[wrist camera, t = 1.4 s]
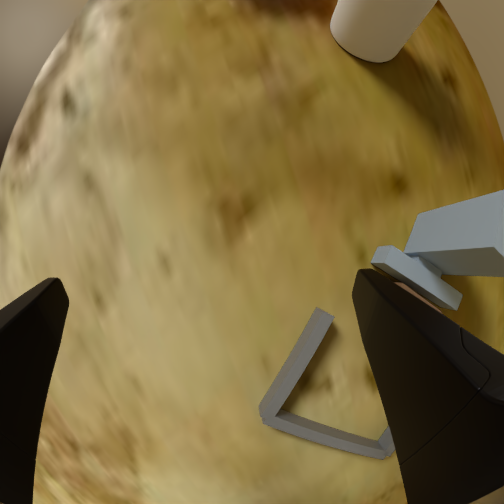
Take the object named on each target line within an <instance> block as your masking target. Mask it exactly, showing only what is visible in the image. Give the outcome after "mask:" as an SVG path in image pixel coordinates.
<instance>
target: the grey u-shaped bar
mask: <svg viewBox="0 0 504 504" xmlns="http://www.w3.org/2000/svg"><path fill="white" fill-rule="evenodd" d="M333 319H334V316H332V315H330V314H329V313H327V312H325V311H323V310H321V309H319V308H317V307H316V309H315V311H314V313H313V314H312V316H311V318H310V320H309V322H308V324H307V325H306V327H305V329H304V331H303V333H302V334H301V336H300V338H299V340H298V341H297V343H296V345H295V347H294V348H293V350H292V352H291V353H290V355H289V357H288V359H287V360H286V362H285V364H284V365H283V367H282V369H281V370H280V372H279V374H278V375H277V377H276V379H275V380H274V382H273V384H272V385H271V387H270V388H269V390H268V392H267V393H266V395H265V396H264V398H263V400H262V401H261V403H260V404H259V411H260V417H262V421H263V424H265V425H268V426H270V427H273V428H276V429H278V430H281V431H284V432H287V433H289V434H292V435H295V436H298V437H301V438H304V439H307V440H310V441H313V442H317V443H320V444H323V445H326V446H330V447H333V448H337V449H340V450H344V451H348V452H352V453H356V454H360V455H364V456H368V457H372V458H377V459H382V460H383V459H384V458H385V457H386V456H389V457H390V456H391V454H392V453H393V452H394V450H395V446H394V443H393V439H392V435H391V431H390V428H389V426H388V427H387V429H386V430H385V432H384V433H383V434H382V436H381V437H380V439H379V440H378V441H375V440H371V439H368V438H364V437H361V436H357V435H354V434H351V433H347V432H344V431H341V430H338V429H335V428H332V427H329V426H326V425H323V424H320V423H317V422H314V421H311V420H308V419H306V418H303V417H300V416H298V415H295V414H292V413H290V412H287V411H285V410H282V409H280V408H281V406H282V405H283V403H284V402H285V400H286V399H287V397H288V396H289V394H290V393H291V391H292V389H293V388H294V386H295V385H296V383H297V381H298V380H299V378H300V376H301V375H302V373H303V372H304V370H305V368H306V367H307V365H308V363H309V362H310V360H311V358H312V356H313V355H314V353H315V351H316V350H317V348H318V346H319V344H320V343H321V341H322V339H323V337H324V335H325V334H326V332H327V330H328V328H329V326H330V325H331V323H332V321H333Z"/></svg>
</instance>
